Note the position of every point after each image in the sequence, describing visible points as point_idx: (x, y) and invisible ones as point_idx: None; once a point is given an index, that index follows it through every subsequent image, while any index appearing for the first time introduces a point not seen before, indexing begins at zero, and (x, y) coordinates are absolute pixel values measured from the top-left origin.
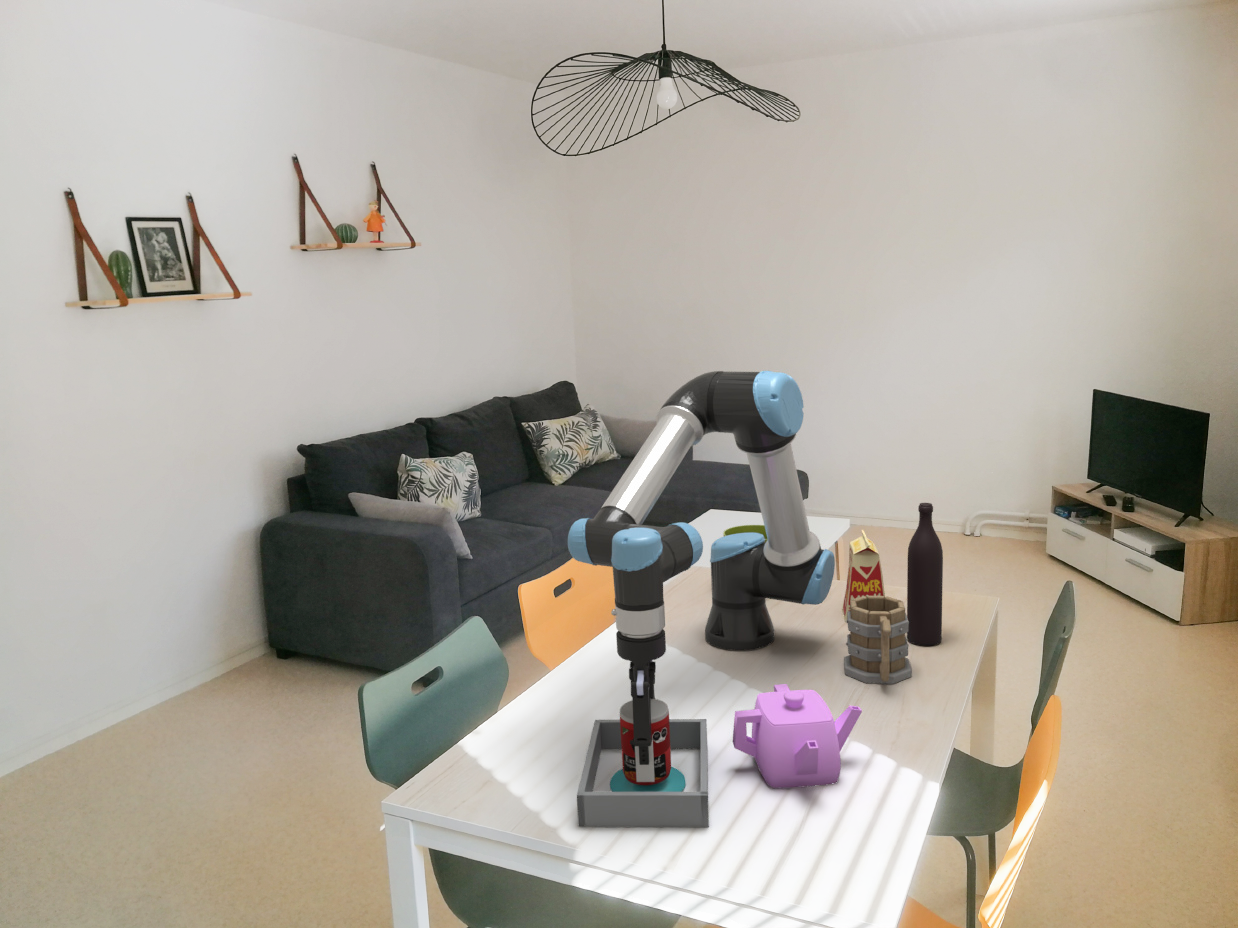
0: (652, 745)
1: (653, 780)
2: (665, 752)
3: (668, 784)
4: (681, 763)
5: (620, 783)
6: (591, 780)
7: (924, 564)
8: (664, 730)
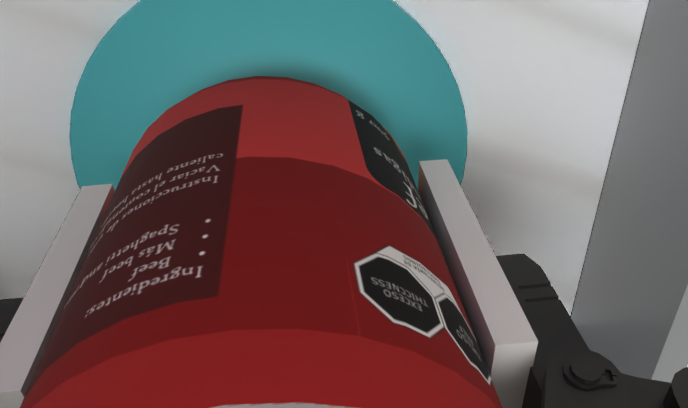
0: (527, 320)
1: (448, 166)
2: (368, 175)
3: (293, 62)
4: (14, 4)
5: None
6: None
7: None
8: (401, 304)
